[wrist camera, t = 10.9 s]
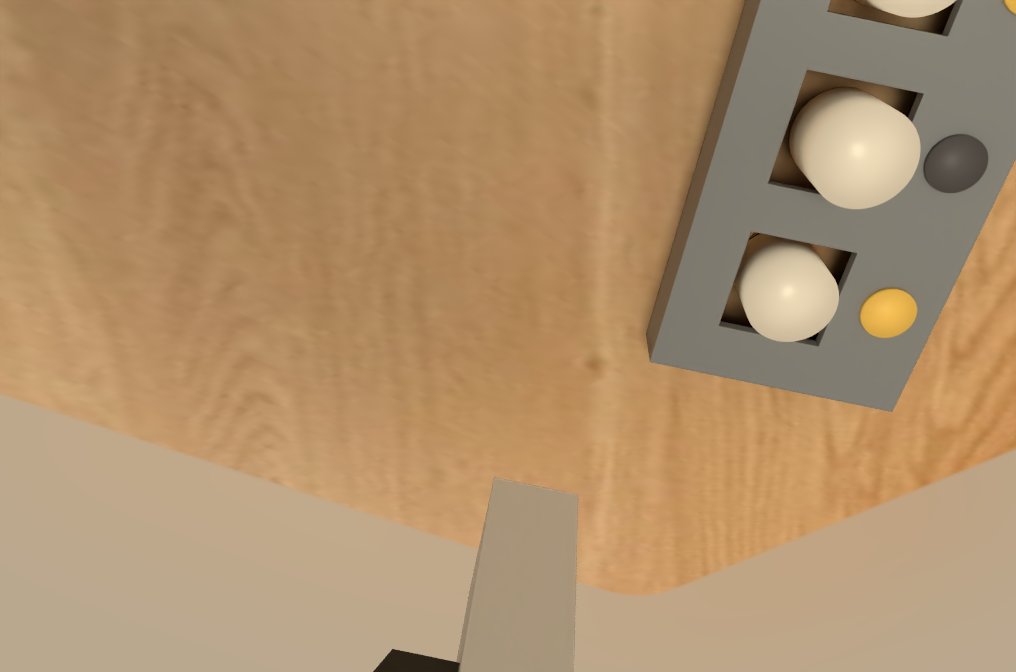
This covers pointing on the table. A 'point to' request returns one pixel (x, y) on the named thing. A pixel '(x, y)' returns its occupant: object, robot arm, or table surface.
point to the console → (812, 219)
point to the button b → (854, 147)
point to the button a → (785, 288)
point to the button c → (908, 6)
